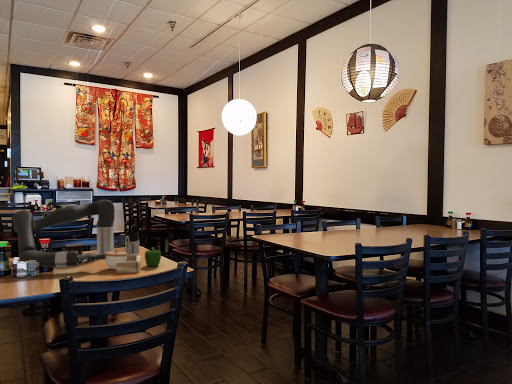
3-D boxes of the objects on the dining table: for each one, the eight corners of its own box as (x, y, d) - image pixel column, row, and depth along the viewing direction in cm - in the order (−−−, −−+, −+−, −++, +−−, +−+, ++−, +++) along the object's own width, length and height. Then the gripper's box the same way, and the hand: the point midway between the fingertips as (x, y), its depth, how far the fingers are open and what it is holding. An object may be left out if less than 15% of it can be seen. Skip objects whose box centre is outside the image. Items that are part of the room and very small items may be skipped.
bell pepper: (147, 264, 202) (146, 245, 202) (162, 264, 202) (162, 245, 202) (142, 267, 194) (142, 248, 194) (158, 267, 194) (158, 248, 194)
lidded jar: (100, 267, 192) (102, 248, 192) (121, 265, 199) (122, 247, 199) (108, 270, 184) (110, 251, 184) (129, 269, 191) (131, 250, 191)
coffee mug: (73, 261, 210) (73, 243, 210) (87, 261, 208) (87, 243, 208) (58, 265, 198) (58, 246, 198) (73, 266, 197) (72, 247, 196)
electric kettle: (142, 256, 223) (142, 231, 222) (133, 261, 209) (133, 234, 208) (127, 256, 223) (127, 231, 223) (118, 261, 209) (117, 234, 209)
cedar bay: (119, 264, 201) (119, 255, 201) (141, 263, 204) (141, 254, 204) (116, 273, 182) (116, 262, 182) (140, 271, 185) (140, 261, 185)
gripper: (70, 263, 190) (106, 261, 195) (64, 269, 177) (103, 267, 182) (69, 248, 190) (106, 246, 194) (63, 254, 177) (103, 251, 182)
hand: (105, 256), depth 188 cm, fingers closed
